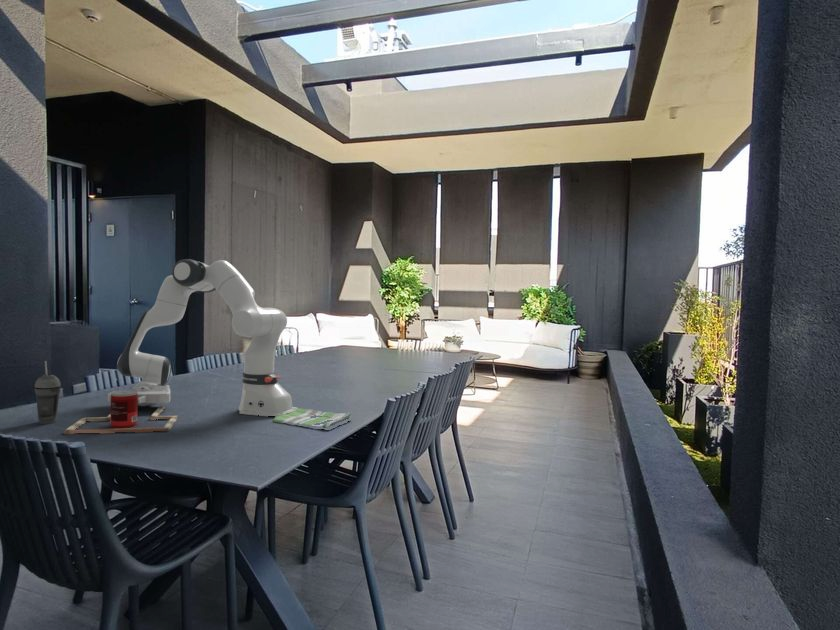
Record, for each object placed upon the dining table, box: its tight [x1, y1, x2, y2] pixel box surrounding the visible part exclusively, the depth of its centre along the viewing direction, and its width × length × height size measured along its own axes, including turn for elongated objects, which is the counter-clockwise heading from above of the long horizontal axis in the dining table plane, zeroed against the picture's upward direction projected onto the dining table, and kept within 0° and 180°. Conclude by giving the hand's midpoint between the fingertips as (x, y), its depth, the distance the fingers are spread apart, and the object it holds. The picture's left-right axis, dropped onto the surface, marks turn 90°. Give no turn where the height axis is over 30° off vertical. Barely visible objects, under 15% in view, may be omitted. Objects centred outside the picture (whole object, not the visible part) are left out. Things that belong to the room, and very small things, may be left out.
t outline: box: [62, 405, 179, 435], centre depth 178 cm, size 32×29×1 cm
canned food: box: [109, 389, 139, 429], centre depth 171 cm, size 8×8×11 cm
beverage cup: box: [33, 360, 62, 425], centre depth 171 cm, size 7×7×20 cm
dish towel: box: [272, 407, 352, 428], centre depth 187 cm, size 17×23×4 cm
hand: (135, 401), depth 184 cm, fingers closed
